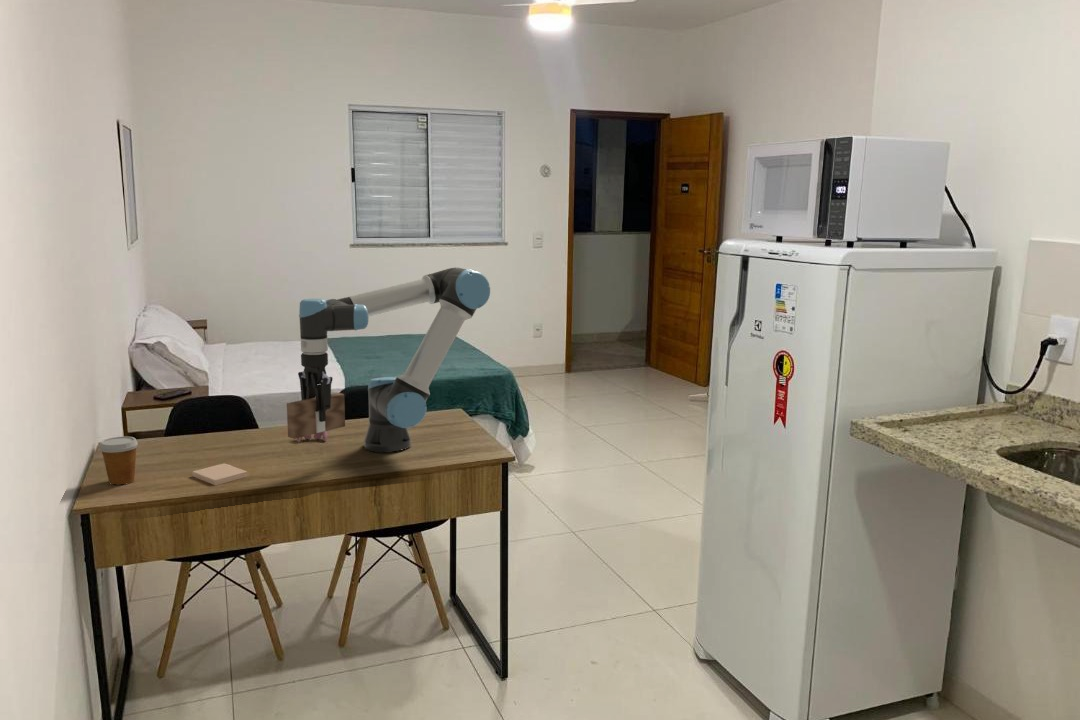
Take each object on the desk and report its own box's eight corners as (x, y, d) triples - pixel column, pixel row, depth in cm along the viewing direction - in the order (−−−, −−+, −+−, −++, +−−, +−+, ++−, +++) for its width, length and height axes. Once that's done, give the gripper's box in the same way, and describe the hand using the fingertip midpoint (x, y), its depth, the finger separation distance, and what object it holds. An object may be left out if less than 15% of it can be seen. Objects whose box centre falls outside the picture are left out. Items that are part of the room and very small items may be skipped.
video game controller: (328, 443, 269) (328, 423, 271) (326, 440, 264) (326, 420, 266) (297, 444, 267) (297, 424, 269) (296, 442, 262) (296, 421, 264)
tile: (224, 463, 237) (192, 471, 229) (247, 471, 229) (215, 480, 222) (224, 469, 237) (192, 478, 229) (247, 478, 230) (215, 487, 222)
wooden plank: (338, 424, 242) (337, 392, 241) (345, 426, 241) (344, 394, 239) (288, 437, 229) (286, 403, 227) (294, 439, 227) (292, 405, 225)
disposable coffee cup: (132, 487, 219) (128, 445, 217) (96, 487, 219) (92, 445, 216) (146, 476, 229) (143, 435, 226) (112, 476, 228) (108, 436, 226)
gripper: (286, 350, 232) (289, 428, 236) (320, 357, 222) (323, 438, 227) (308, 347, 238) (311, 423, 242) (342, 354, 228) (344, 433, 232)
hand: (316, 430), depth 234 cm, fingers closed on wooden plank, 3 cm apart
